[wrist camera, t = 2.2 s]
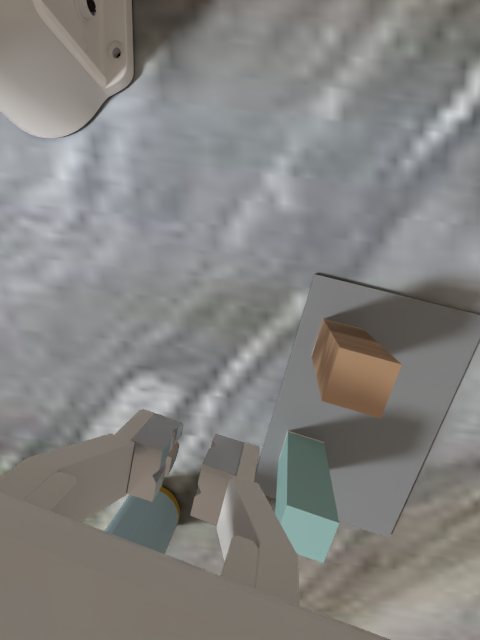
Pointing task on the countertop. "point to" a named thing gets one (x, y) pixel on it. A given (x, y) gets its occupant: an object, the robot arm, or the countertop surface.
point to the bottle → (147, 520)
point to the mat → (400, 411)
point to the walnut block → (353, 369)
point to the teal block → (306, 496)
